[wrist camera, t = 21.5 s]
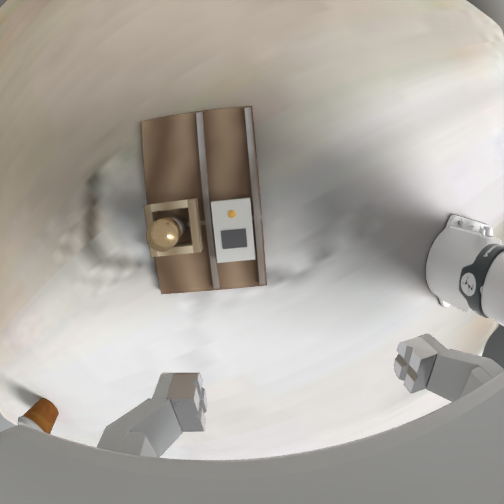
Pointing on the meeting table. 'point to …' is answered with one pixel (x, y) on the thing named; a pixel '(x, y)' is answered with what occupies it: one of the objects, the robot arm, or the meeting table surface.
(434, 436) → the robot arm
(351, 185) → the meeting table surface
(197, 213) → the socket
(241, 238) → the block
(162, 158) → the board
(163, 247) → the grey and tan cylinder
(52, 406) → the disposable coffee cup
